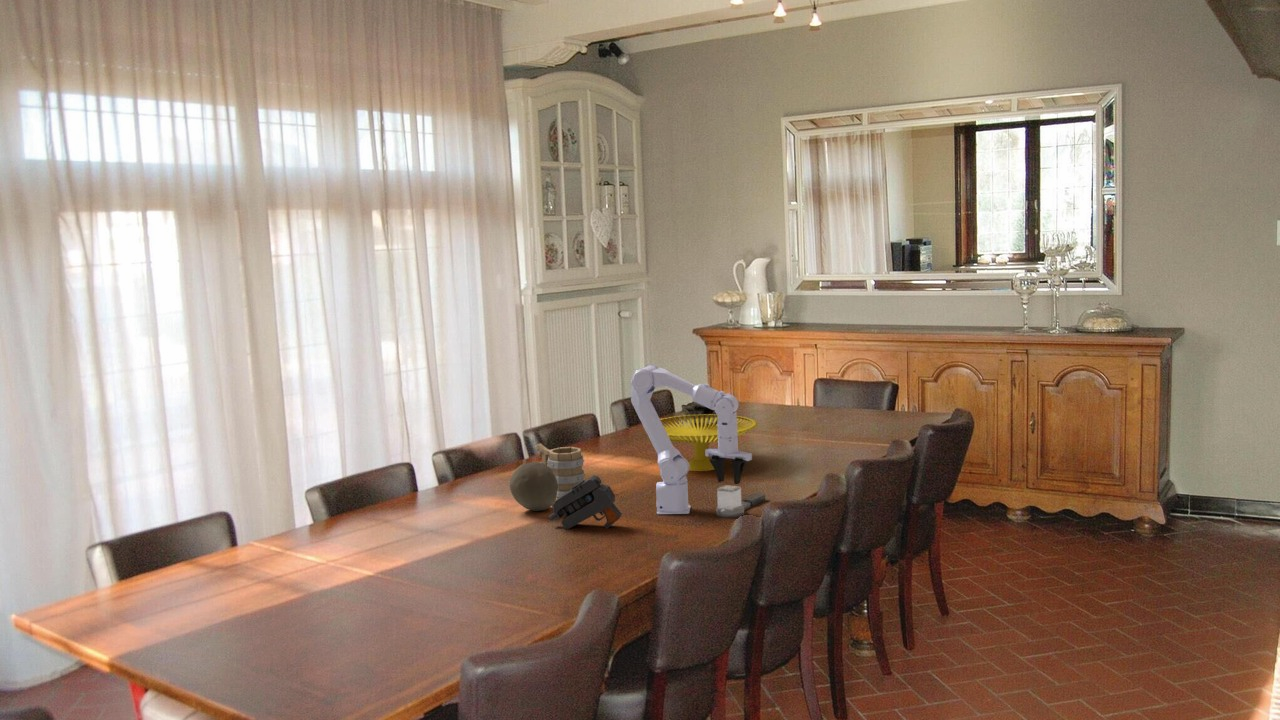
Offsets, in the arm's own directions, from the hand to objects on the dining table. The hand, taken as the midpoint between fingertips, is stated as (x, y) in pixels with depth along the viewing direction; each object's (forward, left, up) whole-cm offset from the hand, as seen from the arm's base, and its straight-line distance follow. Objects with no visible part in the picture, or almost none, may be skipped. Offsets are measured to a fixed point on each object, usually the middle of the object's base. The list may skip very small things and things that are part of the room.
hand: (729, 482), depth 300 cm
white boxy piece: (0, 0, -7) cm, 7 cm away
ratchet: (+4, +6, -9) cm, 12 cm away
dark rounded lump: (-13, +124, -10) cm, 125 cm away
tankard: (-56, +30, -10) cm, 64 cm away
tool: (-41, -11, -10) cm, 44 cm away
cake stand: (-11, +61, -10) cm, 63 cm away
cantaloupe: (-59, +6, -10) cm, 60 cm away
